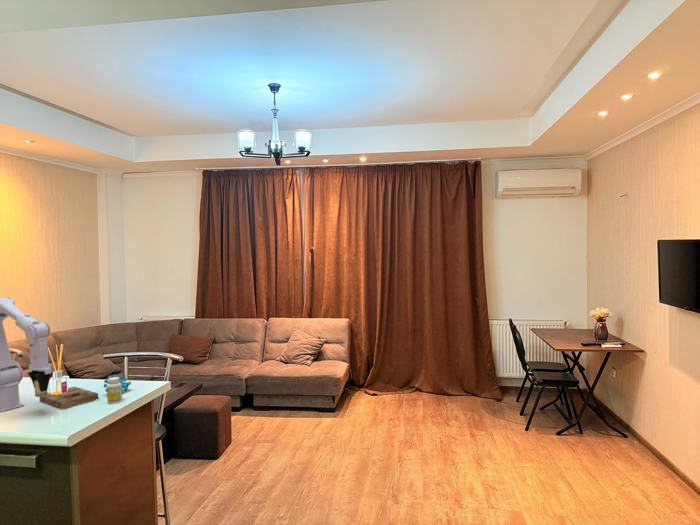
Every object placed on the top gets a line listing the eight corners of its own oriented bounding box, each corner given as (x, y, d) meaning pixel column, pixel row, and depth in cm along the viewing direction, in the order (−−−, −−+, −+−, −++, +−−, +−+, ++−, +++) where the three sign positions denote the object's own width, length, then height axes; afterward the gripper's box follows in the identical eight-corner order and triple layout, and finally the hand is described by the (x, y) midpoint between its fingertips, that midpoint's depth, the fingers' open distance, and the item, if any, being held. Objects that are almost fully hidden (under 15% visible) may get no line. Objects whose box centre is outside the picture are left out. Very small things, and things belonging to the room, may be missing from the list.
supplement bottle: (118, 403, 193) (117, 380, 192) (104, 404, 193) (103, 380, 192) (124, 399, 198) (123, 376, 198) (111, 399, 198) (110, 376, 198)
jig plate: (39, 401, 199) (39, 395, 199) (74, 392, 210) (74, 386, 210) (62, 409, 187) (62, 403, 187) (98, 399, 199) (98, 393, 199)
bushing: (33, 395, 183) (32, 380, 183) (44, 392, 187) (43, 377, 186) (38, 397, 181) (37, 381, 181) (49, 394, 184) (48, 379, 184)
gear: (105, 394, 200) (103, 374, 206) (101, 402, 203) (99, 382, 209) (133, 392, 207) (130, 372, 213) (129, 399, 210) (127, 380, 216)
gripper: (59, 354, 182) (61, 390, 183) (41, 351, 191) (43, 384, 191) (38, 358, 177) (40, 395, 177) (21, 354, 185) (23, 389, 185)
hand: (41, 390), depth 184 cm, fingers closed on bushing, 4 cm apart
